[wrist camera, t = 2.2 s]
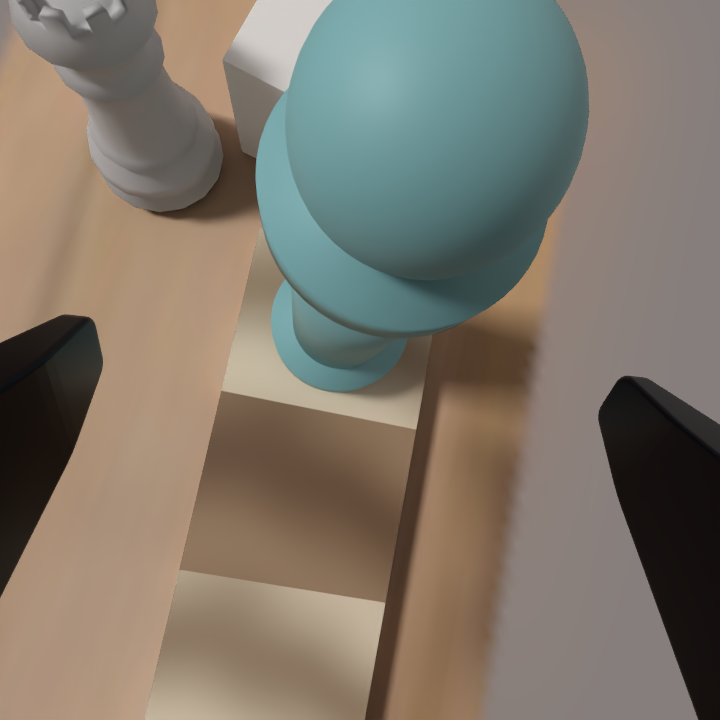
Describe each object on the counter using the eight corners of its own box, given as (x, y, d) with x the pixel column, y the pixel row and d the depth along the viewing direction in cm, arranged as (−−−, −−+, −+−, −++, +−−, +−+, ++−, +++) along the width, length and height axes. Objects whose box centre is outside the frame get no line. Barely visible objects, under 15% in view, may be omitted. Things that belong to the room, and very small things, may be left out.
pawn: (352, 418, 17) (569, 429, 4) (246, 342, 17) (44, 46, 3) (424, 315, 18) (830, 0, 4) (323, 241, 18) (411, -332, 4)
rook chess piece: (199, 90, 19) (129, -144, 11) (243, 194, 19) (204, 31, 11) (83, 125, 18) (-81, -98, 10) (127, 234, 18) (-6, 91, 10)
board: (313, 975, 16) (313, 1004, 15) (92, 958, 15) (80, 987, 14) (438, 277, 19) (444, 271, 18) (261, 236, 19) (259, 228, 18)
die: (358, 210, 19) (379, 139, 14) (240, 151, 19) (220, 57, 14) (410, 106, 20) (447, 4, 15) (298, 47, 20) (298, -77, 15)
